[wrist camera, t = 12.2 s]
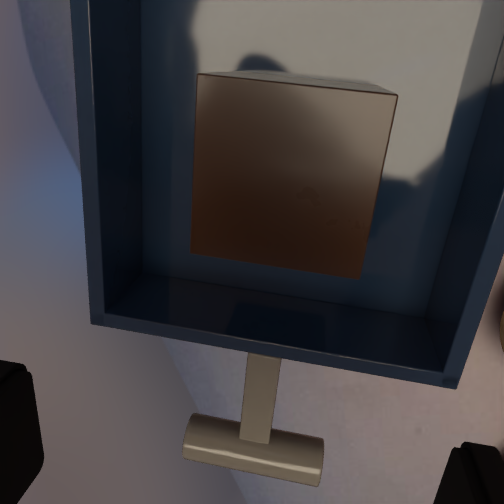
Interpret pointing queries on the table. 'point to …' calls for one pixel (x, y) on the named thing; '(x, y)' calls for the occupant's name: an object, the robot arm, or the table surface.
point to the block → (287, 169)
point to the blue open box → (281, 279)
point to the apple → (502, 331)
